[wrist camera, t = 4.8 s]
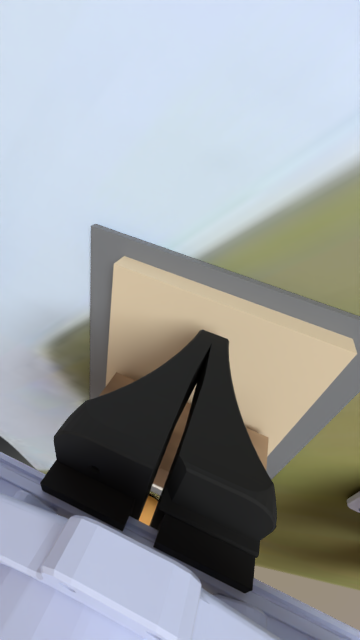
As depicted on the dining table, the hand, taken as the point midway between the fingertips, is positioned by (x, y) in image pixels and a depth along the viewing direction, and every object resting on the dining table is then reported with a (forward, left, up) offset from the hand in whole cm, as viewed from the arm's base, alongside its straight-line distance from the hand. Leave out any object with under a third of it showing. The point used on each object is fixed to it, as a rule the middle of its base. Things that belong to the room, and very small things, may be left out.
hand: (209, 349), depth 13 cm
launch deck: (0, +14, -3) cm, 15 cm away
